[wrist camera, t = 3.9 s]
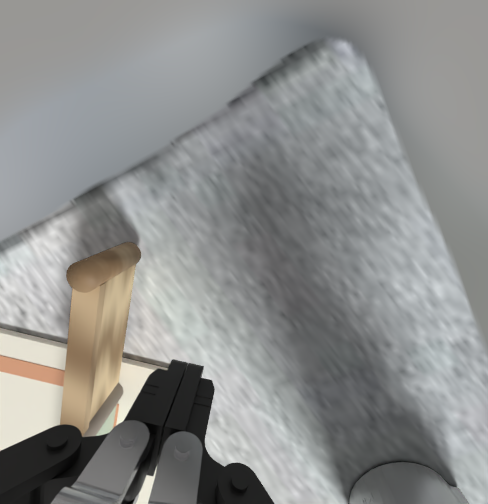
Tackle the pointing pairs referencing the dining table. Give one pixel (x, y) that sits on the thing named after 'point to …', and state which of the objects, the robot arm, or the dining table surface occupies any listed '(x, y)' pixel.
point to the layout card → (50, 389)
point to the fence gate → (96, 330)
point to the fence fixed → (105, 414)
